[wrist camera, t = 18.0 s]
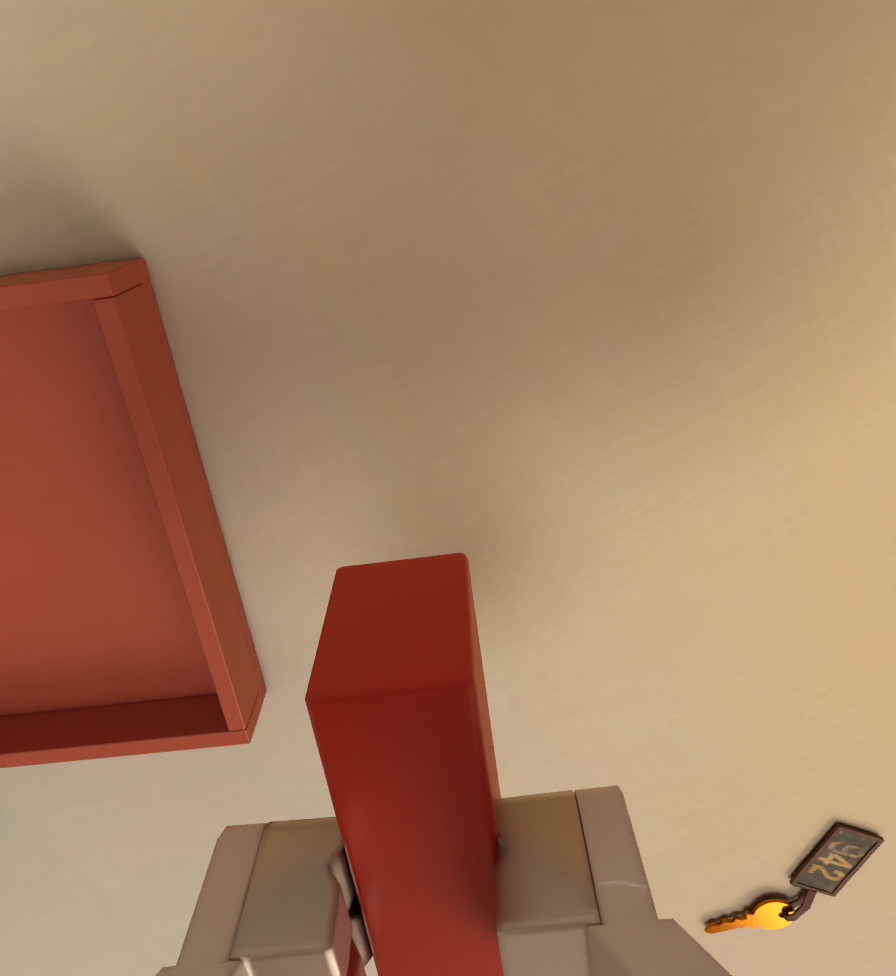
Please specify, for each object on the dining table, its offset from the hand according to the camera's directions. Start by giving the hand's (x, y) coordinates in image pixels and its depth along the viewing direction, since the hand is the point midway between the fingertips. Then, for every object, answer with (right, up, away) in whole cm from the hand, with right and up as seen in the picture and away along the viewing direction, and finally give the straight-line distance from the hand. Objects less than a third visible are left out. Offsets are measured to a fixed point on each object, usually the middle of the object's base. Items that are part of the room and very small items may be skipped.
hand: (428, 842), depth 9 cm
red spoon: (0, -1, +2) cm, 3 cm away
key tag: (+14, -12, +23) cm, 29 cm away
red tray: (-13, +3, +15) cm, 20 cm away
